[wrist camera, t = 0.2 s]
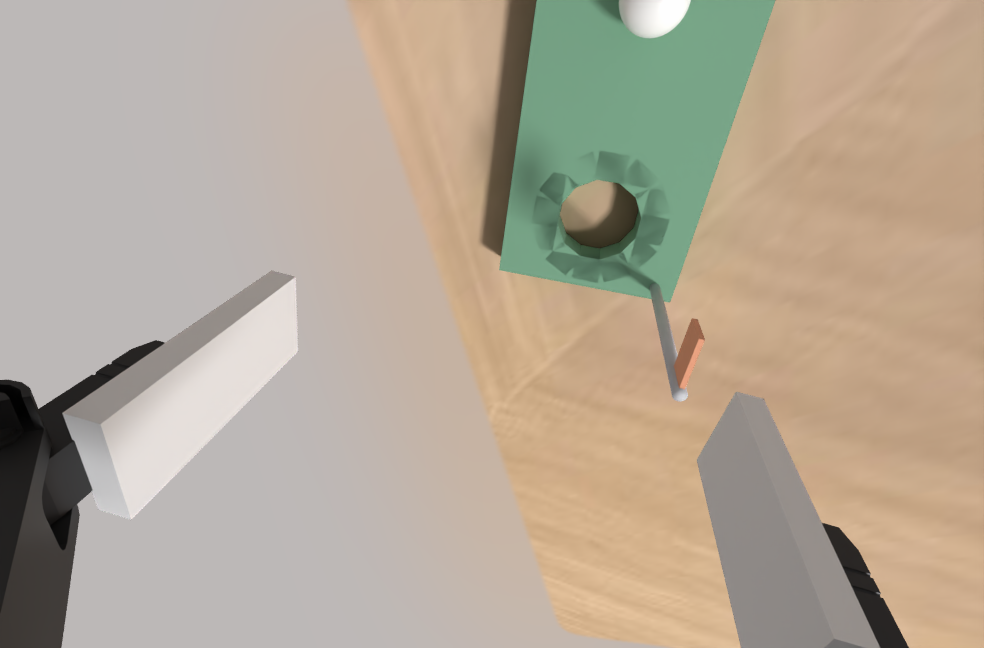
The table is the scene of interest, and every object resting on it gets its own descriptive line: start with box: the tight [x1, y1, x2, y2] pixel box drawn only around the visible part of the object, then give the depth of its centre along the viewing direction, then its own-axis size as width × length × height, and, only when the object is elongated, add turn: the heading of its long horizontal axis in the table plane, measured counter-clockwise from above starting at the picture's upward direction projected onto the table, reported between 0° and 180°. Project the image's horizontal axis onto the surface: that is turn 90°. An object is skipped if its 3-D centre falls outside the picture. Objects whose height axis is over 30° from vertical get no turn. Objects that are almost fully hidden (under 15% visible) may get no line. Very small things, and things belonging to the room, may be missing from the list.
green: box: [499, 0, 775, 401], centre depth 29 cm, size 24×14×16 cm, turn 173°
